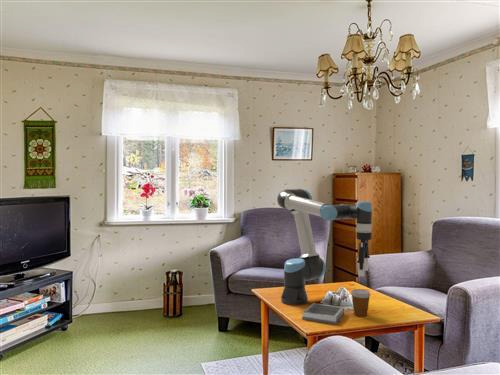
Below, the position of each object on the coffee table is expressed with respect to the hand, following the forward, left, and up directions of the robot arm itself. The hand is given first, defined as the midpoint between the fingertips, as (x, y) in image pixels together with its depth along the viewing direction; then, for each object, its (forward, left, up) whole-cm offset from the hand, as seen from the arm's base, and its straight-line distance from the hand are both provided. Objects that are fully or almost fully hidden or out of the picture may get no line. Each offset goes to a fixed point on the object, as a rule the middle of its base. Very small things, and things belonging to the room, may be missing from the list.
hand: (363, 273), depth 206 cm
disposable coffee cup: (-1, -2, -21) cm, 21 cm away
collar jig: (-17, -13, -21) cm, 30 cm away
